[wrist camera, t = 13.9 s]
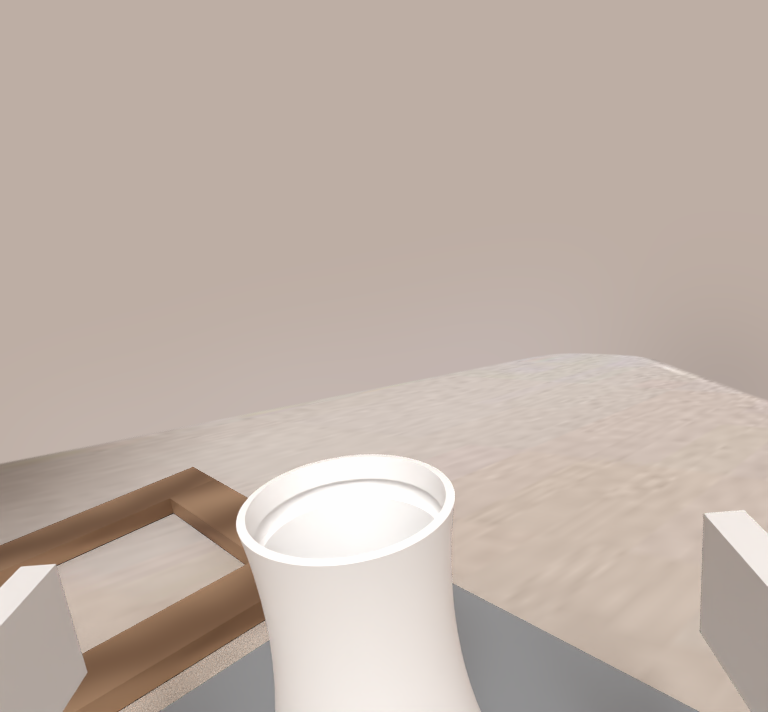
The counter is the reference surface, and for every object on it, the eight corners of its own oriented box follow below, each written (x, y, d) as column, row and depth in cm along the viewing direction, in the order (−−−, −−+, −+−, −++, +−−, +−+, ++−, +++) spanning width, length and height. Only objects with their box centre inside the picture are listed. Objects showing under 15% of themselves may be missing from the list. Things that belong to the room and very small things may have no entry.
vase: (218, 797, 18) (146, 489, 16) (436, 684, 22) (407, 411, 19) (314, 1115, 12) (219, 681, 9) (604, 885, 15) (597, 513, 12)
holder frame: (-89, 600, 33) (-95, 584, 32) (195, 480, 43) (193, 466, 42) (-25, 799, 21) (-34, 776, 21) (345, 569, 31) (343, 552, 31)
